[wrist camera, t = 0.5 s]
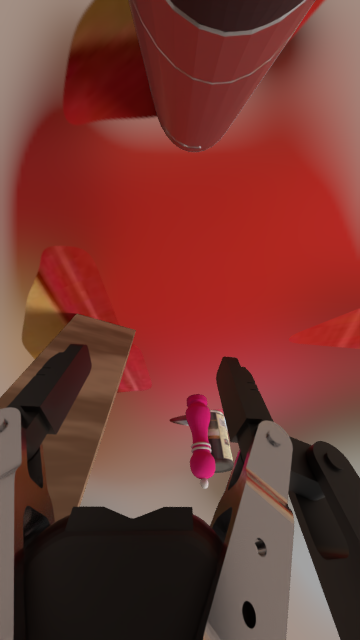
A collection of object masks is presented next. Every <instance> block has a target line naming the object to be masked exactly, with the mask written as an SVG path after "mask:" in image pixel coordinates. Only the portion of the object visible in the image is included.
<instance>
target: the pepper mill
mask: <svg viewBox="0 0 360 640" xmlns="http://www.w3.org/2000/svg"><path fill="white" fill-rule="evenodd" d="M187 406H188V409H187V410H186V419H187V422H188V424H189V426H190V429H191V432H192V437H193V444H192V446H191V448H192V453H193V455H192V457H191V460H190V467H191V471H192V473H193V474H194V476H196V477H197V478H199V479H201V482H200V483H201V486H202V488H204V489H206V488H207V487H208V480H207V479H208V478H210V477H212V476H213V474H214V472H215V460H214V457H213V456H212V455H211V445H210V444H209V441H208V426H209V422H210V410H209V409H208V407H207V399H206V397H205V396H203V395H200V394H196V395H191V396H189V397H188V398H187Z"/></svg>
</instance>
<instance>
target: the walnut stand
mask: <svg viewBox="0 0 360 640" xmlns="http://www.w3.org/2000/svg"><path fill="white" fill-rule="evenodd" d="M135 331H136V330H133V329H129V328H126V327H122V326H119V325H115V324H112V323H108V322H105V321H101V320H97V319H94V318H90V317H87V316H83V315H79V314H76V315H75V316H74V317H73V318H72V320H71V321H70V322H69V323H68V324H67V325H66V326H65V327H64V328H63V329H62V331H61V332H60V333H59V334H58V335H57V336H56V337H55V338H54V339H53V340H52V342H51V343H50V344H49V345H48V346H47V347H46V348H45V349H44V350H43V351H42V353H41V354H40V355H39V356H38V357H37V358H36V359H35V360H34V361H33V362H32V364H31V365H30V366H29V367H28V368H27V369H26V370H25V371H24V372H23V373H22V375H21V376H20V377H19V378H18V379H17V380H16V381H15V382H14V383H13V384H12V386H11V387H10V388H9V389H8V390H7V391H6V392H5V393H4V394H3V395H2V396H1V398H0V409H3V408H6V407H7V406H8V405H9V404H10V403H11V402H12V401H13V400H14V399H15V397H16V396H17V395H18V394H19V393H20V392H21V391H22V389H23V388H24V387H25V386H26V385H27V384H28V383H29V381H30V380H31V379H32V378H33V377H34V376H36V373H37V372H38V371H39V370H40V369H42V367H43V365H44V364H45V363H46V362H47V361H48V360H49V359H50V358H51V357H53V356H54V355H56V354H57V353H59V352H64V351H65V350H66V349H67V347H68V346H69V345H70V344H84V345H87V346H88V350H89V354H90V358H91V363H92V367H91V371H90V374H89V376H88V377H87V379H86V381H85V383H84V385H83V387H82V388H81V390H80V392H79V394H78V396H77V398H76V400H75V401H74V403H73V405H72V407H71V409H70V411H69V412H68V414H67V416H66V418H65V420H64V422H63V423H62V425H61V427H60V429H59V431H58V433H57V434H56V435H54V434H47V435H46V437H45V438H44V440H43V442H42V444H43V452H44V462H45V471H46V481H47V488H48V492H49V495H50V498H51V501H52V505H53V511H54V519H55V522H56V521H58V520H60V519H62V518H64V517H66V516H68V515H70V514H71V511H72V508H73V507H80V504H81V500H82V497H83V494H84V491H85V488H86V485H87V482H88V479H89V476H90V473H91V469H92V466H93V464H94V461H95V457H96V454H97V451H98V448H99V445H100V442H101V438H102V436H103V433H104V430H105V427H106V423H107V420H108V417H109V414H110V411H111V408H112V405H113V402H114V399H115V396H116V393H117V390H118V387H119V384H120V380H121V377H122V374H123V371H124V368H125V365H126V362H127V358H128V355H129V352H130V348H131V345H132V341H133V338H134V335H135Z"/></svg>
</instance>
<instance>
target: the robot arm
mask: <svg viewBox="0 0 360 640" xmlns="http://www.w3.org/2000/svg"><path fill="white" fill-rule="evenodd" d="M128 1H129V5H130V9H131V13H132V17H133V21H134V25H135V29H136V33H137V37H138V41H139V45H140V49H141V53H142V57H143V62H144V66H145V70H146V74H147V78H148V82H149V86H150V90H151V94H152V98H153V102H154V106H155V110H156V114H157V117H158V119H159V122H160V124H161V127H162V128H163V130H164V132H165V134H166V135H167V136H168V138H169V139H170V140H171V141H172V142H173V143H174V144H175V145H176V146H178V147H179V148H181V149H183V150H186V151H189V152H199V151H204V150H206V149H208V148H210V147H212V146H213V145H214V144H216V143H217V142H218V141H219V140H220V139H221V138H222V136H223V135H224V134H225V133H226V131H227V130H228V128H229V127H230V125H231V124H232V123H233V121H234V120H235V119H236V117H237V116H238V114H239V113H240V111H241V110H242V108H243V107H244V105H245V104H246V102H247V101H248V99H249V98H250V96H251V95H252V94H253V92H254V91H255V89H256V88H257V86H258V85H259V83H260V82H261V80H262V79H263V77H264V76H265V74H266V73H267V71H268V70H269V68H270V67H271V65H272V64H273V63H274V61H275V60H276V58H277V56H278V55H279V54H280V52H281V51H282V49H283V48H284V46H285V45H286V43H287V42H288V40H289V39H290V37H291V36H292V34H293V33H294V31H295V30H296V28H297V27H298V25H299V24H300V22H301V21H302V19H303V18H304V16H305V15H306V13H307V12H308V10H309V9H310V7H311V6H312V4H313V3H314V1H315V0H128ZM91 367H92V363H91V358H90V354H89V350H88V346H87V345H84V344H70V345H69V346H68V347H67V349H66V350H65V351H64V352H59V353H57V354H56V355H54V356H53V357H51V358H50V359H49V360H48V361H47V362H46V363H45V364H44V365H43V367H42V369H40V370H39V371H38V372H37V373H36V376H34V377H33V378H32V379H31V380H30V381H29V383H28V384H27V385H26V386H25V387H24V388H23V389H22V391H21V392H20V393H19V394H18V395H17V396H16V397H15V399H14V400H13V401H12V402H11V403H10V404H9V405H8V406H7V407H6V408H3V409H0V640H286V632H287V618H288V603H289V590H290V577H291V562H292V548H293V535H294V517H293V513H292V511H291V510H290V509H289V507H288V501H287V500H288V494H289V497H290V500H291V503H292V505H293V508H294V511H295V514H296V516H297V519H298V522H299V525H300V528H301V531H302V533H303V536H304V539H305V541H306V544H307V547H308V550H309V553H310V556H311V558H312V561H313V564H314V566H315V569H316V572H317V575H318V578H319V581H320V583H321V586H322V589H323V592H324V595H325V598H326V600H327V603H328V606H329V609H330V611H331V614H332V617H333V620H334V623H335V625H336V628H337V631H338V634H339V637H340V639H341V640H360V478H359V476H358V475H357V473H356V472H355V470H354V469H353V467H352V465H351V464H350V462H349V461H348V460H347V459H346V457H345V456H344V455H343V454H342V453H341V452H340V451H339V450H338V449H337V448H335V447H334V446H332V445H330V444H329V443H326V442H323V441H318V442H316V443H314V444H313V445H309V444H307V443H304V442H302V441H299V440H297V439H294V438H292V437H289V436H288V434H287V433H286V432H285V430H284V429H283V428H281V427H280V426H279V425H278V424H276V423H274V422H273V420H272V418H271V416H270V414H269V411H268V409H267V407H266V405H265V403H264V401H263V398H262V396H261V394H260V392H259V391H258V388H257V385H256V384H255V381H254V379H253V377H252V375H251V373H250V372H249V371H248V370H247V369H246V368H245V367H241V366H240V364H239V362H238V359H237V358H233V357H223V358H222V361H221V364H220V366H219V369H218V372H217V377H216V380H217V386H218V391H219V395H220V399H221V403H222V408H223V412H224V416H225V420H226V425H227V429H228V433H229V437H230V441H231V442H236V443H238V444H239V448H240V450H239V452H238V455H237V457H236V460H235V463H234V466H233V469H232V472H231V475H230V477H229V480H228V483H227V486H226V489H225V491H224V493H223V496H222V497H221V499H220V502H219V503H218V506H217V508H216V511H215V513H214V516H213V519H212V522H211V524H210V526H209V525H208V524H207V523H206V522H205V521H204V520H202V519H201V518H199V517H197V516H195V515H193V513H192V507H163V508H160V509H158V510H155V511H153V512H150V513H148V514H145V515H143V516H140V517H137V518H134V519H132V518H128V517H126V516H124V515H122V514H119V513H117V512H115V511H112V510H110V509H108V508H105V507H73V508H72V511H71V514H70V515H68V516H66V517H64V518H62V519H60V520H58V521H56V522H55V519H54V511H53V505H52V501H51V498H50V495H49V492H48V488H47V481H46V471H45V462H44V452H43V444H42V442H43V440H44V438H45V437H46V435H47V434H54V435H56V434H57V433H58V431H59V429H60V427H61V425H62V423H63V422H64V420H65V418H66V416H67V414H68V412H69V411H70V409H71V407H72V405H73V403H74V401H75V400H76V398H77V396H78V394H79V392H80V390H81V388H82V387H83V385H84V383H85V381H86V379H87V377H88V376H89V374H90V371H91Z"/></svg>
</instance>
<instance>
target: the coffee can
mask: <svg viewBox="0 0 360 640" xmlns="http://www.w3.org/2000/svg"><path fill="white" fill-rule="evenodd" d="M208 441H209V444H210V445H211V455H212V456H213V457H214V460H215V472H214V473H221V472H226V471H230V470H232V469H233V466H234V463H233V459H232V454H231V449H230V444H229V440H228V435H227V430H226V426H225V421H224V415H223V414H222V413H221V412H220V411H216V410H210V422H209V426H208Z"/></svg>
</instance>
